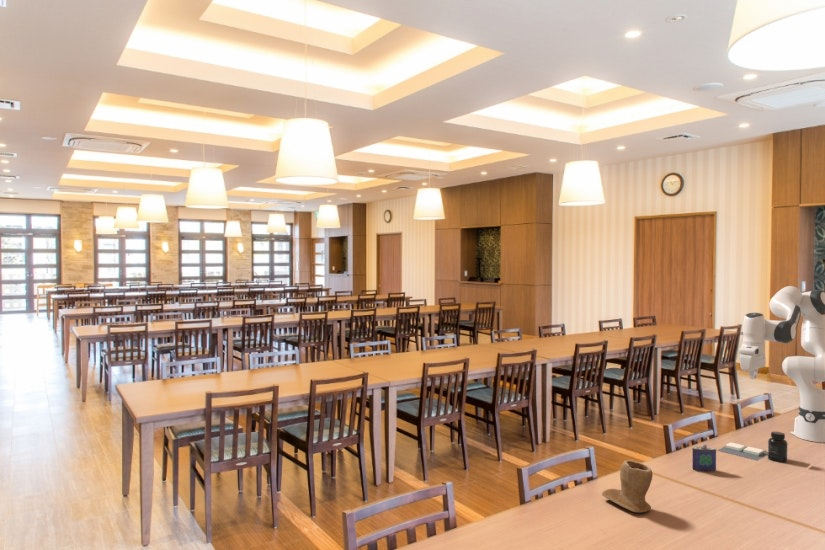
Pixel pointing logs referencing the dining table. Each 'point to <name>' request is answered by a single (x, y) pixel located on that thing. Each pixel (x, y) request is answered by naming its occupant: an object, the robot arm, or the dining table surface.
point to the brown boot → (632, 487)
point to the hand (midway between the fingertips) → (753, 378)
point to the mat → (743, 454)
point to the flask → (704, 458)
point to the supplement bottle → (777, 447)
